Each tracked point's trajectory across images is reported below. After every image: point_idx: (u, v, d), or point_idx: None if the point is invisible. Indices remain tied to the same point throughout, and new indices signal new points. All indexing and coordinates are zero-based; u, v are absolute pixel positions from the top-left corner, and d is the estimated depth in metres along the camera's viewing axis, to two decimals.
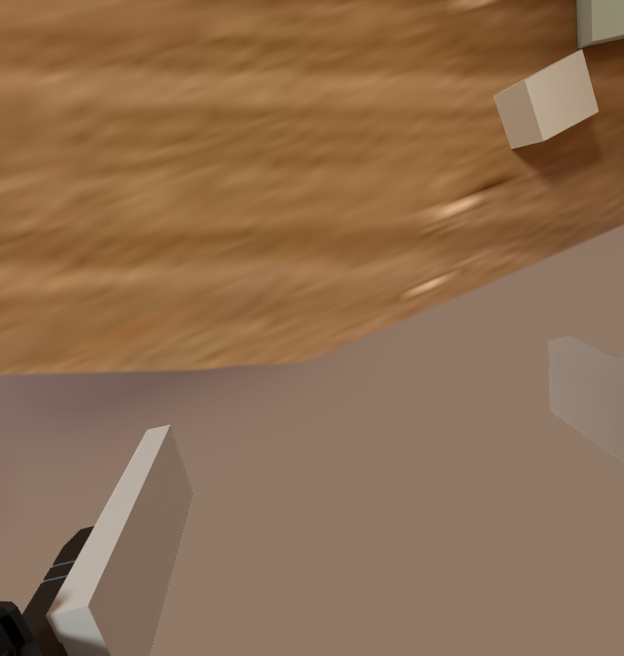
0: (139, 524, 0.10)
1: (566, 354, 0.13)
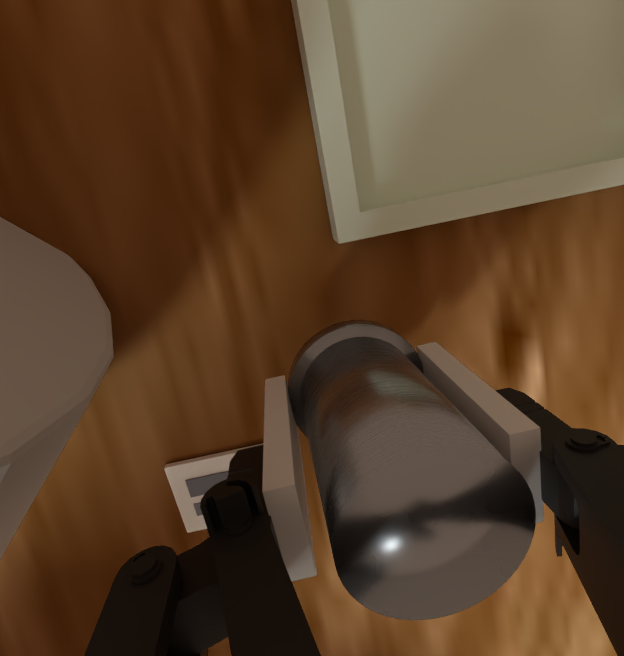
0: (293, 443, 0.12)
1: (425, 358, 0.15)
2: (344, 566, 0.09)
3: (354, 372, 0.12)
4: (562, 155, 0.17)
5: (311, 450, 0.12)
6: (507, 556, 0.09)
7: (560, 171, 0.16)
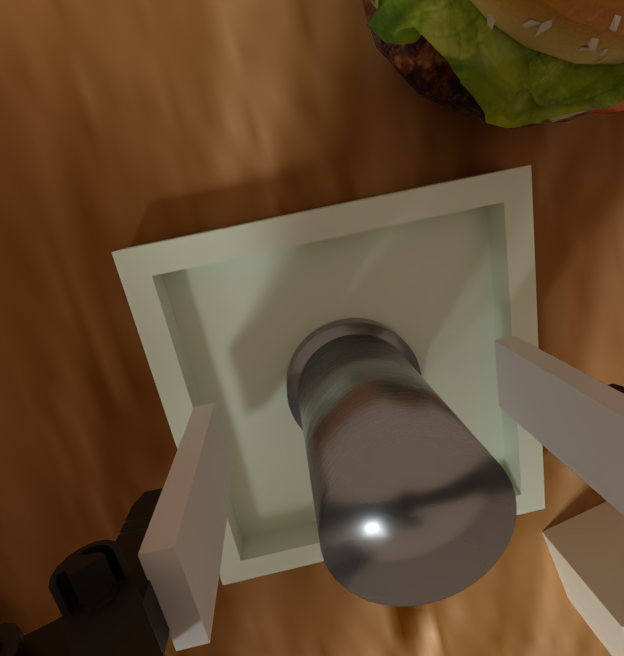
0: (201, 486, 0.11)
1: (509, 353, 0.14)
2: (329, 552, 0.09)
3: (347, 368, 0.13)
4: None
5: (305, 443, 0.13)
6: (489, 545, 0.09)
7: None
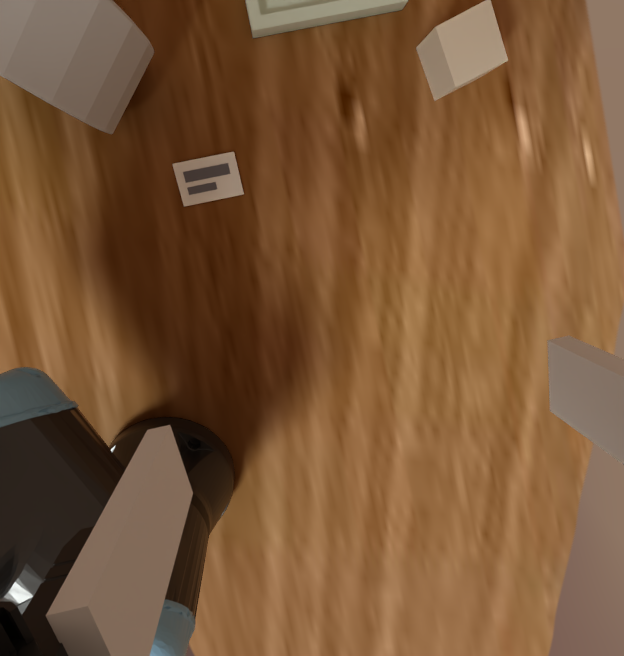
0: (139, 524, 0.10)
1: (566, 354, 0.13)
2: None
3: None
4: None
5: None
6: None
7: None
